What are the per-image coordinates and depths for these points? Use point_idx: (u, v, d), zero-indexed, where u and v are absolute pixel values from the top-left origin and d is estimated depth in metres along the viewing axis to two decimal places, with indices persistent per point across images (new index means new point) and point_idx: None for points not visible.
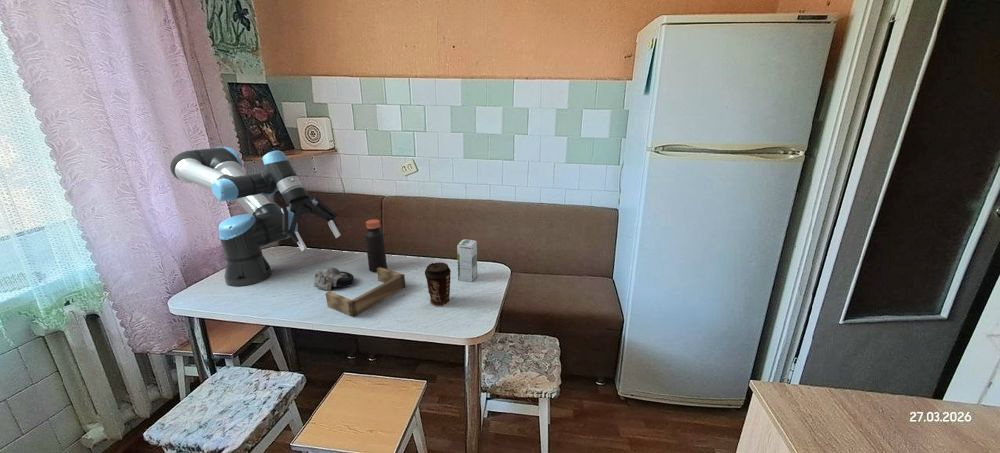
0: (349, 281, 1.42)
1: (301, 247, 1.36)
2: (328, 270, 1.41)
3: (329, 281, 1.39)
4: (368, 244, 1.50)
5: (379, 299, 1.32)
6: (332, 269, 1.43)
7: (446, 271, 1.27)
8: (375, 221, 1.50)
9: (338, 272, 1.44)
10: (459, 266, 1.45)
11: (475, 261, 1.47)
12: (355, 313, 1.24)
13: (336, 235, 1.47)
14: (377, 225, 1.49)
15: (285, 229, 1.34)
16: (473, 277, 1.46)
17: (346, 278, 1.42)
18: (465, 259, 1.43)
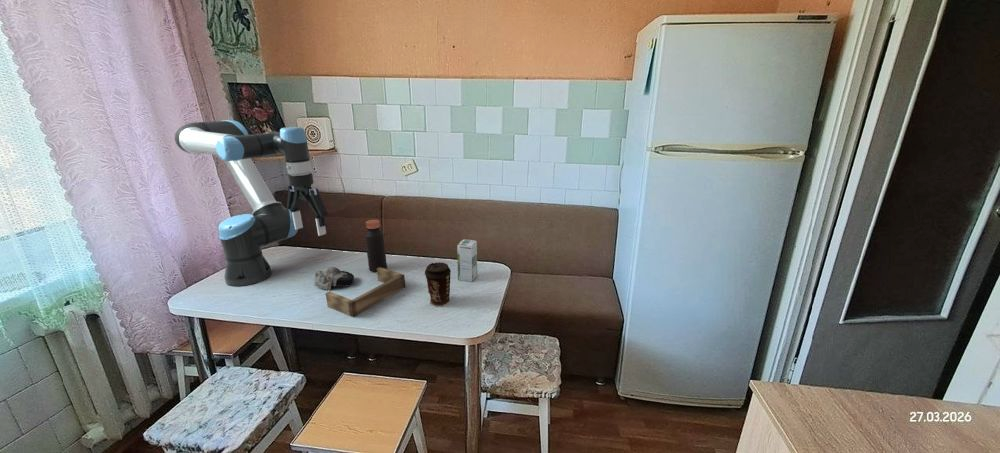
0: (349, 280, 1.42)
1: None
2: (328, 269, 1.41)
3: (329, 280, 1.39)
4: (368, 244, 1.50)
5: (379, 299, 1.32)
6: (333, 268, 1.43)
7: (446, 271, 1.27)
8: (375, 221, 1.50)
9: (339, 271, 1.45)
10: (459, 266, 1.45)
11: (475, 261, 1.47)
12: (355, 313, 1.24)
13: None
14: (377, 225, 1.49)
15: (287, 206, 1.44)
16: (473, 277, 1.46)
17: (346, 278, 1.43)
18: (465, 259, 1.43)
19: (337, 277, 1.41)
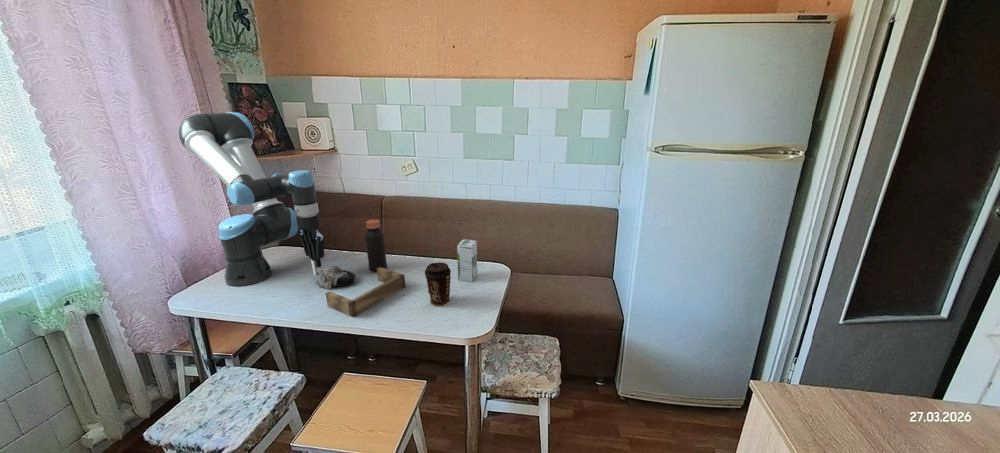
0: (350, 280, 1.43)
1: None
2: (329, 269, 1.42)
3: (329, 280, 1.40)
4: (368, 244, 1.50)
5: (379, 299, 1.32)
6: (334, 268, 1.44)
7: (446, 271, 1.27)
8: (375, 221, 1.50)
9: (340, 271, 1.45)
10: (459, 266, 1.45)
11: (475, 261, 1.47)
12: (355, 313, 1.24)
13: None
14: (377, 225, 1.49)
15: (305, 253, 1.47)
16: (473, 277, 1.46)
17: (347, 277, 1.43)
18: (465, 259, 1.43)
19: (338, 276, 1.41)
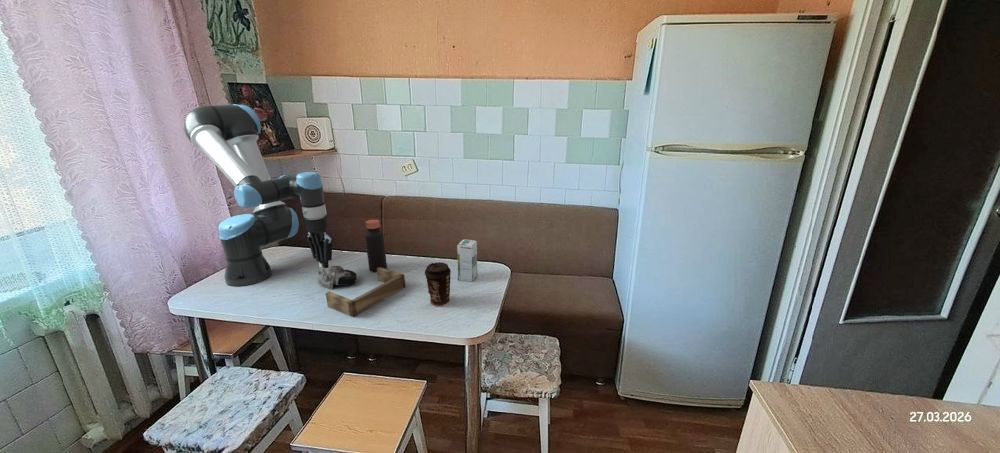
0: (351, 280, 1.43)
1: None
2: (331, 268, 1.42)
3: (331, 279, 1.40)
4: (368, 244, 1.50)
5: (379, 299, 1.32)
6: (336, 267, 1.44)
7: (446, 271, 1.27)
8: (375, 221, 1.50)
9: (342, 270, 1.45)
10: (459, 266, 1.45)
11: (475, 261, 1.47)
12: (355, 313, 1.24)
13: None
14: (377, 225, 1.49)
15: (313, 255, 1.45)
16: (473, 277, 1.46)
17: (349, 277, 1.43)
18: (465, 259, 1.43)
19: (339, 276, 1.42)
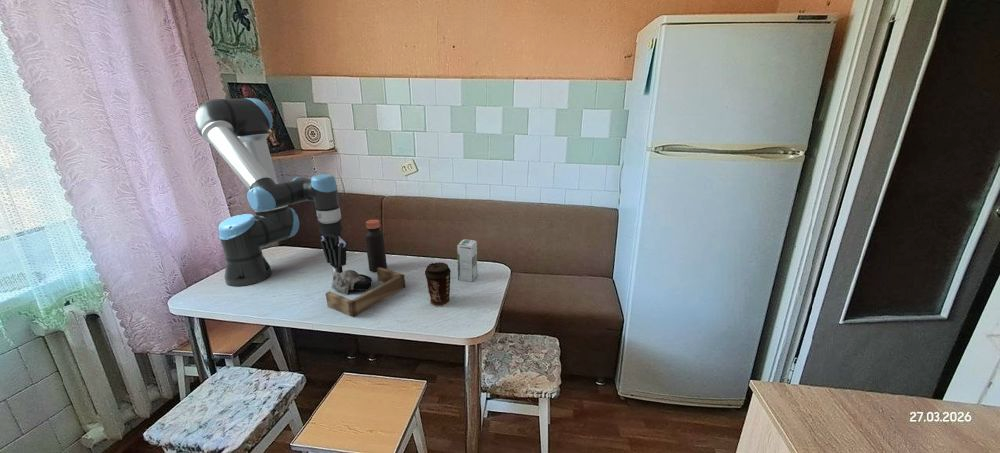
0: (367, 284, 1.39)
1: None
2: (346, 273, 1.39)
3: (346, 284, 1.36)
4: (368, 244, 1.50)
5: (379, 299, 1.32)
6: (351, 272, 1.40)
7: (446, 271, 1.27)
8: (375, 221, 1.50)
9: (357, 275, 1.42)
10: (459, 266, 1.45)
11: (475, 261, 1.47)
12: (355, 313, 1.24)
13: None
14: (377, 225, 1.49)
15: (326, 260, 1.41)
16: (473, 277, 1.46)
17: (364, 281, 1.39)
18: (465, 259, 1.43)
19: (355, 281, 1.38)
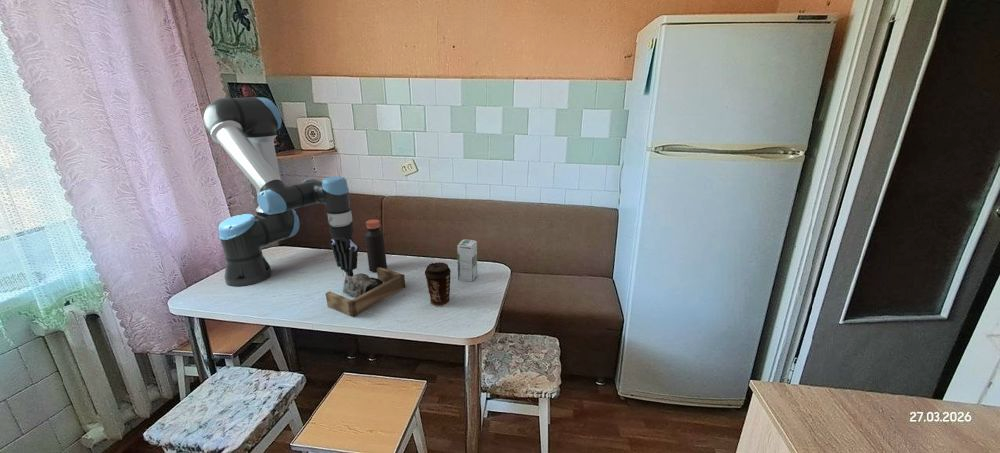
0: None
1: None
2: (358, 276, 1.36)
3: (358, 288, 1.34)
4: (368, 244, 1.50)
5: (379, 299, 1.32)
6: (362, 275, 1.38)
7: (446, 271, 1.27)
8: (375, 221, 1.50)
9: (368, 278, 1.39)
10: (459, 266, 1.45)
11: (475, 261, 1.47)
12: (355, 313, 1.24)
13: None
14: (377, 225, 1.49)
15: (337, 264, 1.38)
16: (473, 277, 1.46)
17: (376, 285, 1.37)
18: (465, 259, 1.43)
19: (367, 284, 1.35)
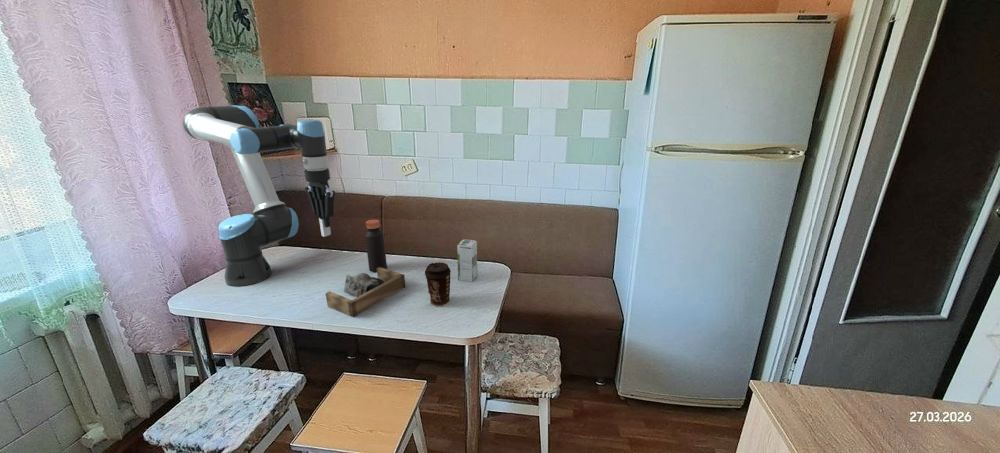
0: None
1: None
2: (359, 276, 1.37)
3: (359, 287, 1.34)
4: (368, 244, 1.50)
5: (379, 299, 1.32)
6: (363, 275, 1.38)
7: (446, 271, 1.27)
8: (375, 221, 1.50)
9: (369, 278, 1.40)
10: (459, 266, 1.45)
11: (475, 261, 1.47)
12: (355, 313, 1.24)
13: None
14: (377, 225, 1.49)
15: (313, 211, 1.36)
16: (473, 277, 1.46)
17: (376, 285, 1.37)
18: (465, 259, 1.43)
19: (367, 284, 1.36)
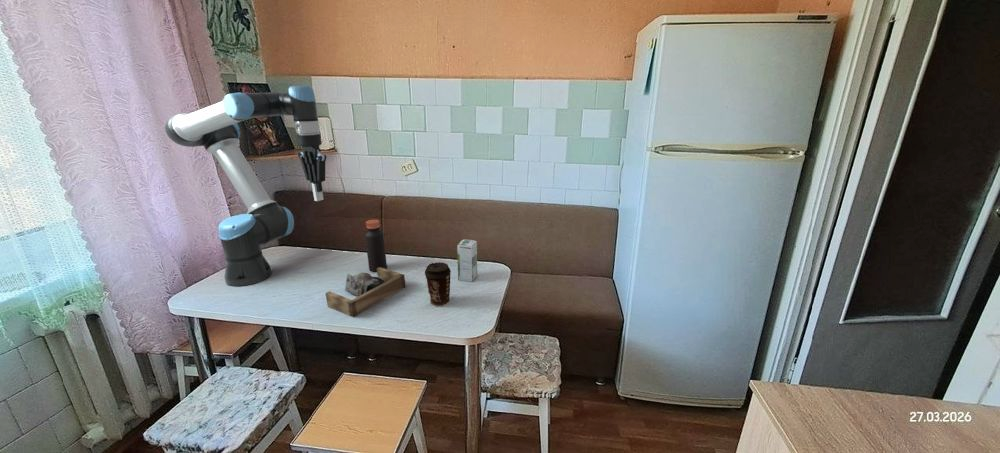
0: None
1: None
2: (360, 275, 1.37)
3: (360, 287, 1.35)
4: (368, 244, 1.50)
5: (379, 299, 1.32)
6: (364, 274, 1.39)
7: (446, 271, 1.27)
8: (375, 221, 1.50)
9: (370, 277, 1.40)
10: (459, 266, 1.45)
11: (475, 261, 1.47)
12: (355, 313, 1.24)
13: None
14: (377, 225, 1.49)
15: (306, 177, 1.41)
16: (473, 277, 1.46)
17: (377, 284, 1.38)
18: (465, 259, 1.43)
19: (368, 283, 1.36)
